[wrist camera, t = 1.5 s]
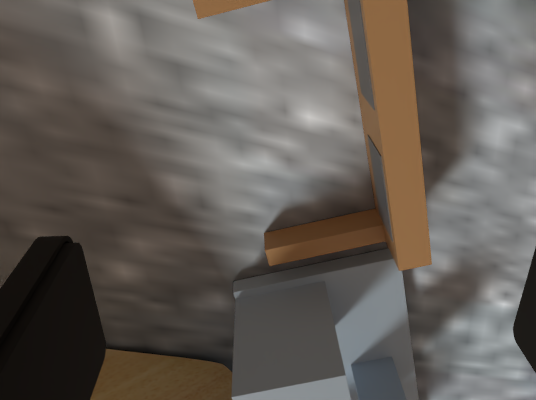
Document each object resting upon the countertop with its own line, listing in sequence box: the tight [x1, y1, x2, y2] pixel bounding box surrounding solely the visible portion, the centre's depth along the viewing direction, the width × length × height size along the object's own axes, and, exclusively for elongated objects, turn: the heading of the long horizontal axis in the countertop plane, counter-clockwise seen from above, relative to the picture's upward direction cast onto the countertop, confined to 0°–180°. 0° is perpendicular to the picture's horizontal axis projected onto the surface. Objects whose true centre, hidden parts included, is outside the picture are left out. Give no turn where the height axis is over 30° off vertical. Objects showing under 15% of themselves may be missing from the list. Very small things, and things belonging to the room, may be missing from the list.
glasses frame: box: [193, 0, 432, 271], centre depth 26 cm, size 9×16×5 cm, turn 13°
